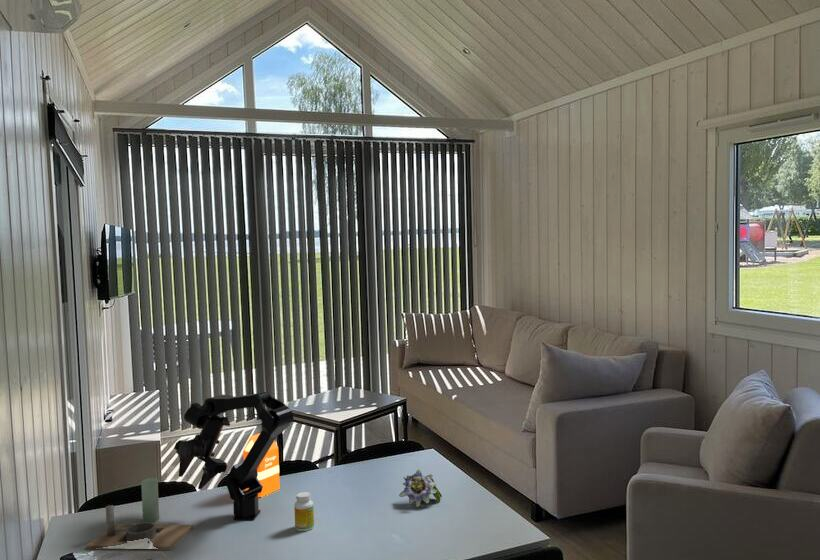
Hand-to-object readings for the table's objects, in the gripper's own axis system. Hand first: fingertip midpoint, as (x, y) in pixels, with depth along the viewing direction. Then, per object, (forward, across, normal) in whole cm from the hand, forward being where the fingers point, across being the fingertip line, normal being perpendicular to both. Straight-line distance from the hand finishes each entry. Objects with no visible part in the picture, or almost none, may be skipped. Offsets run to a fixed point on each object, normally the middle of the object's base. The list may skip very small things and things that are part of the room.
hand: (189, 482), depth 195 cm
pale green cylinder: (+13, -4, -5) cm, 15 cm away
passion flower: (-19, +59, +37) cm, 72 cm away
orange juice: (-1, +9, +25) cm, 26 cm away
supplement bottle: (-4, +40, +8) cm, 41 cm away
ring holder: (+14, +5, -15) cm, 21 cm away
